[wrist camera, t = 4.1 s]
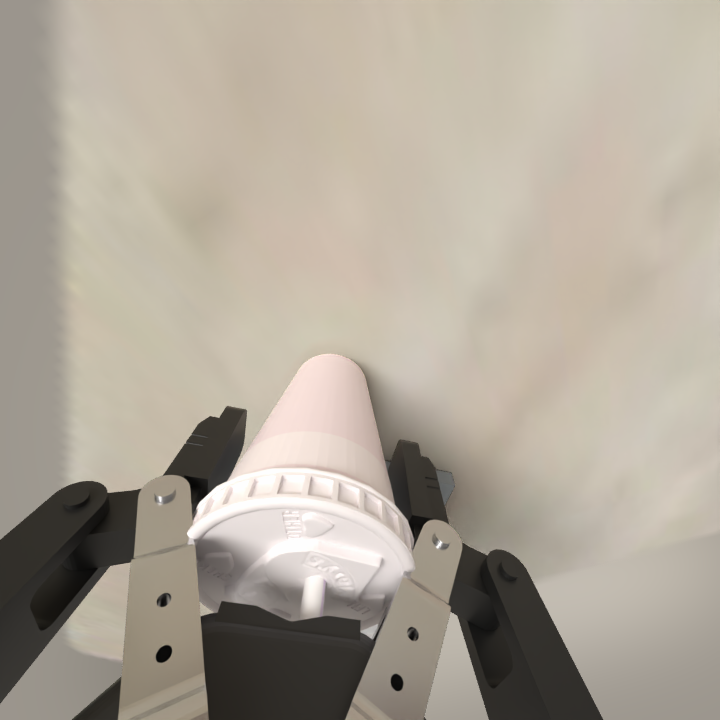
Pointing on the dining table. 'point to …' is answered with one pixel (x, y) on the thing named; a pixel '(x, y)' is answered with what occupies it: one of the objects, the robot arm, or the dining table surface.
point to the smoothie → (307, 508)
